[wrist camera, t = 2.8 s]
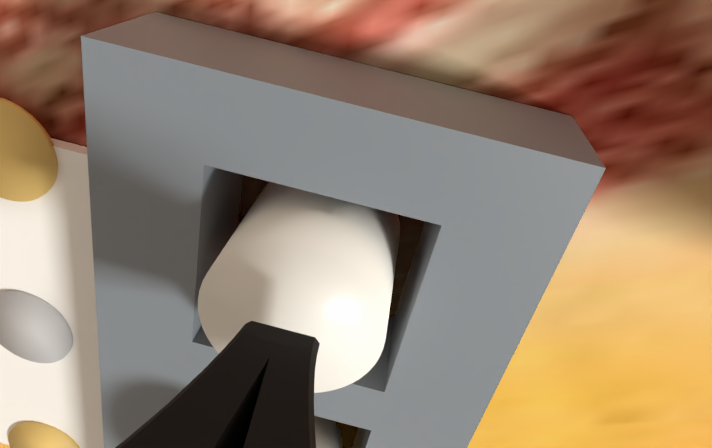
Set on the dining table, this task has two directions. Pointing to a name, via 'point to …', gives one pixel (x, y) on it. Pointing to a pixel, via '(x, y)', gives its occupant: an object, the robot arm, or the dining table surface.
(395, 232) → the button
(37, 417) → the pattern card
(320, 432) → the button mid
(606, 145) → the dining table surface
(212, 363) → the robot arm
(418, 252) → the board
